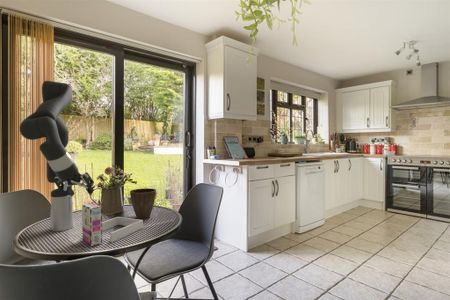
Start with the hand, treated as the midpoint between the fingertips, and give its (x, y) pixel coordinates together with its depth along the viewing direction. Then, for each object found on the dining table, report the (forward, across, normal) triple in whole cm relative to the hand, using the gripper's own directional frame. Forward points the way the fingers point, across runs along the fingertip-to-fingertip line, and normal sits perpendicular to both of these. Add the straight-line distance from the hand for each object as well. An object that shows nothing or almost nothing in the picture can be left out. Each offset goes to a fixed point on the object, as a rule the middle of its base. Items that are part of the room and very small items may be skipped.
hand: (82, 194), depth 104 cm
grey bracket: (+28, -3, -1) cm, 28 cm away
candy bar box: (+21, +1, +9) cm, 23 cm away
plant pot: (+42, -7, -22) cm, 48 cm away
